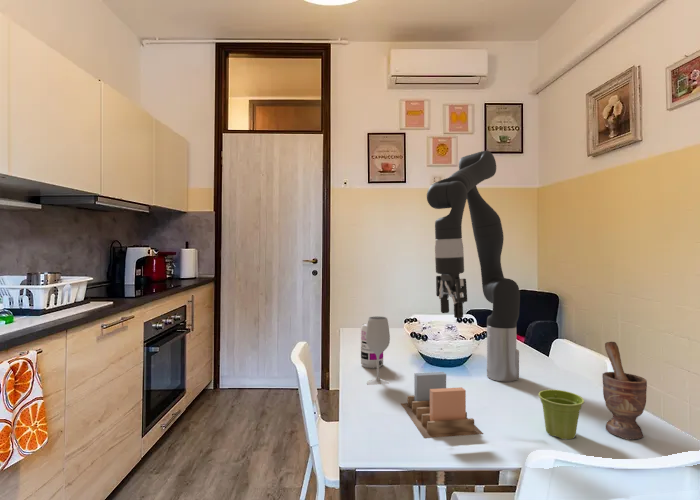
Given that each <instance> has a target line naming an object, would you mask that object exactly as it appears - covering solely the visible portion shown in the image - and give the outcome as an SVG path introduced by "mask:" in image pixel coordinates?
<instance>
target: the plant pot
mask: <svg viewBox="0 0 700 500" xmlns="http://www.w3.org/2000/svg"><path fill="white" fill-rule="evenodd" d="M538 397H539V398H540V402H541V404H542V410H543V411H542V412H543V419H544V427H545V431H546V433H547V434H548V435H550V436H552V437H557V438H559V439H561V440H572V439H574V438H575V437H576V434H577V429H578V428H577V427H578V422H579V416H580V410H581V409H582V405H583V404H584V403H585V399H584V398H583V397H582V396H581V395H579V394H576V393H574V392H570V391H566V390H560V389H544V390H540V391H539V392H538Z"/></svg>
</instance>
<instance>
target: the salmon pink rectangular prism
mask: <svg viewBox="0 0 700 500" xmlns="http://www.w3.org/2000/svg"><path fill="white" fill-rule="evenodd" d="M466 392H467V391H466V389H465V388H463V387H446V388H441V389H430V421H439V420H455V419H466V412H467V410H466V407H467V406H466V405H467V404H466V401H467V400H466V399H467V395H466Z"/></svg>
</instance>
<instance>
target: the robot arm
mask: <svg viewBox="0 0 700 500" xmlns="http://www.w3.org/2000/svg"><path fill="white" fill-rule="evenodd" d="M458 161H459V162H458V170H457V171H454V172H453V173H452V174H451V175H450V176H449V177H447V178H444V179H440V180H438V181H435V182H434V183H432V184H431V185H430V186H429V188H428V190H427V193H426V201H427V203H428V205H429V206H430V207H431V208H433V209H435V210H444V209H450V211H449V213H448V214H447V215H445V216H443V217H439V218H436V220H435V221H434V234H435V242H434V243H435V245H434V256H435V257H434V261H435V273H436V274H438V275H436V276H435V288H436V289H435V290H436V291H435V293H436V296H437V297H438V299H439V302H440V312H441V313H442V314H449V313H450V299H449V297H451V298H452V301H453V314H454V318H456V319H462V318H463V317H464V306H463V305H464V303H466V302H468V291H467V290H468V289H467V279H466V278H460V274H462V273H463V274H464V272H465V259H464V257H465V256H464V244H463V243H464V242H463V235H462V233H463V230H462V229H463V228H462V224H463V216H464V211H465V207H466V202H467V204H468V205H467V206H468V209H469V215H470V221H471V228H472V232H473V237H474V240H475V246H476V251H477V256H478V259H479V266H480V275H481V285H482V286H481V287H482V293H483V296H484V298H485V299H486V301H487V302H489V303H491V304H492V312H491V314H490V315H487V318H486V377H487V378H488V379H491V380H494V381H497V382H505V383H506V382H514V381H517V380H520V351H519V349H518V348H517V323H518V321H519V317H520V306H521V292H520V288H519V285H518V283H517V282H516V281H515V280H513V279H512V278H506V277H505V276H504V272H503V267H502V261H501V259H502V251H503V247H504V230H503V225H502V219H501V218H500V215H499V214H498V213H497V211H496V210H495V209H494V208H493V207H492V206H491V205H490V204H489V203H488V202H486V200H485V199H484V198H483V197H482V196H481V193H480V192H479V190H478V188H477V185H479V184H480V183H482V182H483V181H485V180H488V179H489V180H490V178H492V177H494V176H495V174H496V172H497V162H496V159H495V156H494V155H493V153H492V152H491V151H488V150H482V151H478V152H475V153H471V154H468V155H465V156H462V157H460V159H459V160H458Z"/></svg>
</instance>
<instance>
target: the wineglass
mask: <svg viewBox="0 0 700 500" xmlns="http://www.w3.org/2000/svg"><path fill="white" fill-rule="evenodd" d="M367 323H368V324H367V331H366V343H367V346H368V347H369V348H370V350H371V351H372V352H374V353H375V354H376V357H377V368H376V377H375V379H370V380H368V381H366V385H367V386H375V385H377V386H378V385H389V384H390V382H389V381H388V380H386V379H385V380H384V379H382V378H381V377H380V367H379V356H380V354H381V353H382V352H383V353H384V352H385V351H386V350H387V348H388V347H389V346H390V340H391V337H390V336H391V335H390V327H389V326H390V325H389V321H388V317H386V316H369V317H368V319H367Z"/></svg>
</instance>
